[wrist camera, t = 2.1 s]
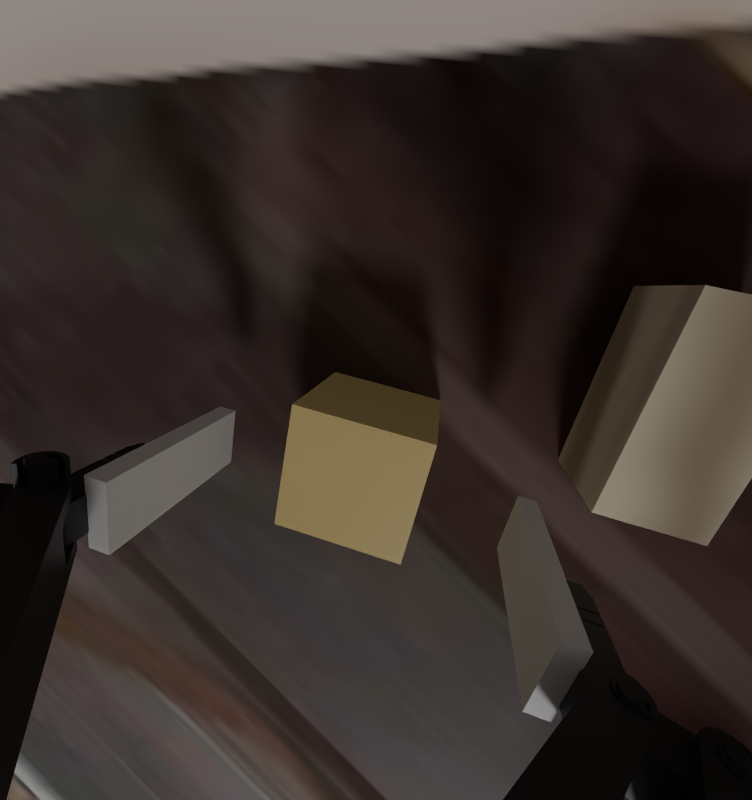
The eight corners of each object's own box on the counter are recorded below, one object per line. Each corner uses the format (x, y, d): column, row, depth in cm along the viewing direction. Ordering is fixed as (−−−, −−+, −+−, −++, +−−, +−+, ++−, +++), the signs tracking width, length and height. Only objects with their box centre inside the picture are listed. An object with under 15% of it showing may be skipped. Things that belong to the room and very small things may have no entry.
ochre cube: (318, 463, 22) (274, 523, 17) (335, 371, 20) (292, 404, 15) (413, 492, 21) (400, 564, 16) (440, 399, 20) (436, 445, 14)
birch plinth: (557, 458, 19) (591, 512, 15) (632, 286, 16) (705, 284, 12) (643, 481, 19) (707, 546, 14) (736, 308, 16) (856, 316, 11)
